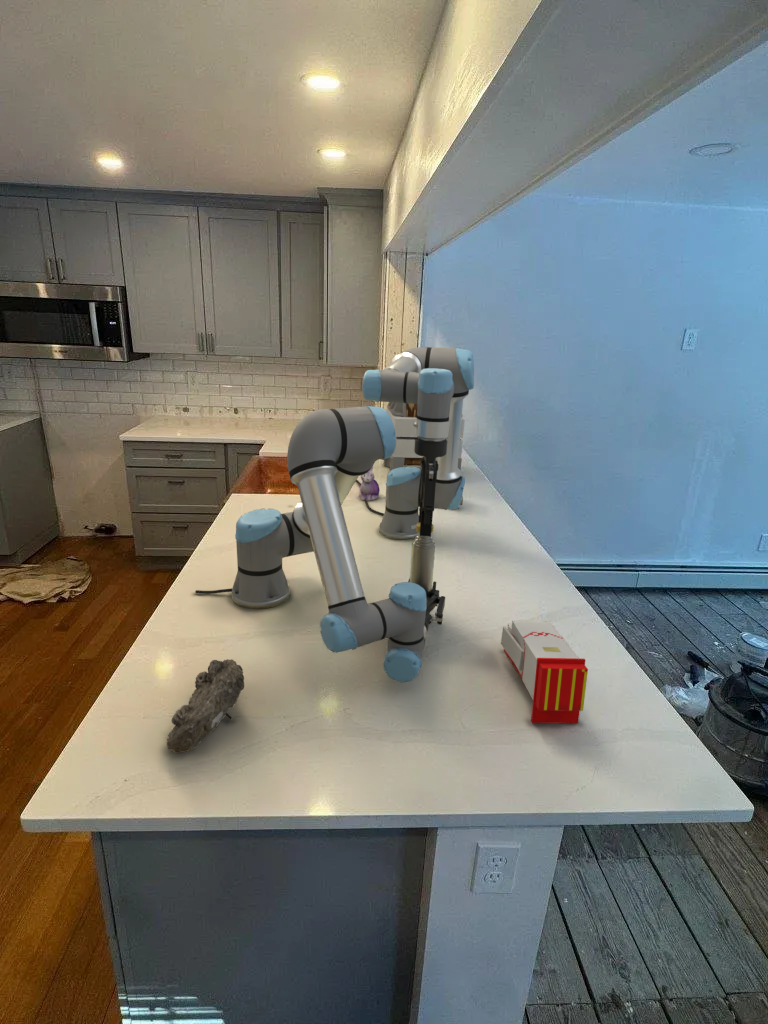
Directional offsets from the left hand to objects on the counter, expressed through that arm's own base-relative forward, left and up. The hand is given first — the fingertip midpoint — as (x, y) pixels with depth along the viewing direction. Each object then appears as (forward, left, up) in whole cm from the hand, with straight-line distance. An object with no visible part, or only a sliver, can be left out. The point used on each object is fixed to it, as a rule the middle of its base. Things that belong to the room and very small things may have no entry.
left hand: (422, 584), depth 150 cm
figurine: (-32, +85, -6) cm, 91 cm away
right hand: (0, -5, +17) cm, 18 cm away
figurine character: (+3, +87, -6) cm, 87 cm away
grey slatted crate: (-16, +130, -6) cm, 131 cm away
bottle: (0, -5, -6) cm, 8 cm away
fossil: (-34, -53, -6) cm, 63 cm away
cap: (0, -5, +19) cm, 19 cm away
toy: (+28, -26, -6) cm, 39 cm away
